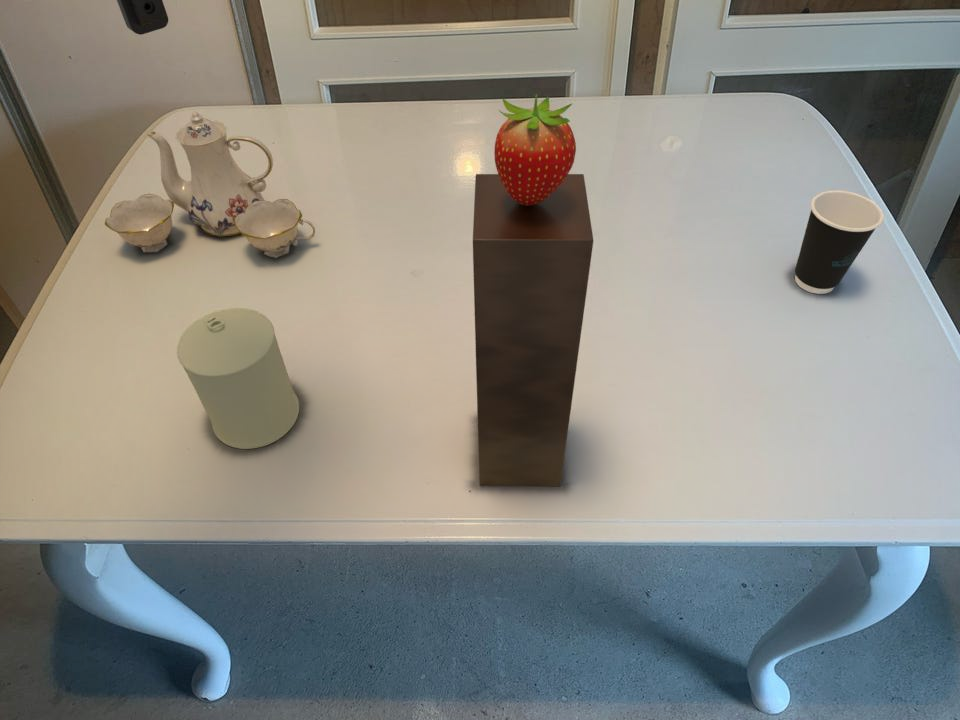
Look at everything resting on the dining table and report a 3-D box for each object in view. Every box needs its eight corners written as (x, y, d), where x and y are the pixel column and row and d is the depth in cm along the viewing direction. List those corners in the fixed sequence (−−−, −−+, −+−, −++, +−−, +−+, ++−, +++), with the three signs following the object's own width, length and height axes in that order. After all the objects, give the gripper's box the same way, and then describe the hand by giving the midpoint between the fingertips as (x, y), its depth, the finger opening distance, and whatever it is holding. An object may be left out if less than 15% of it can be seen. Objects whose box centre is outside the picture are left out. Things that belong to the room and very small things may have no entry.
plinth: (479, 485, 67) (472, 240, 45) (480, 421, 73) (475, 173, 51) (560, 486, 67) (593, 240, 45) (556, 421, 72) (583, 173, 50)
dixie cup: (791, 254, 91) (821, 182, 83) (854, 274, 88) (890, 202, 80) (774, 288, 86) (803, 215, 78) (839, 310, 83) (876, 237, 75)
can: (274, 369, 78) (246, 290, 69) (315, 418, 73) (291, 340, 64) (198, 410, 74) (158, 332, 65) (236, 464, 69) (198, 388, 60)
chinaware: (109, 278, 92) (44, 178, 79) (144, 197, 102) (91, 95, 88) (317, 273, 92) (287, 172, 78) (331, 192, 102) (306, 91, 88)
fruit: (528, 175, 50) (533, 67, 44) (584, 203, 48) (596, 92, 42) (477, 206, 48) (475, 96, 42) (533, 237, 45) (539, 124, 39)
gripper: (-170, -382, 31) (13, -4, 43) (-82, -390, 24) (107, 65, 36) (1, -384, 35) (127, -34, 47) (121, -391, 28) (233, 24, 40)
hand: (118, 9), depth 41 cm, fingers open, 8 cm apart
